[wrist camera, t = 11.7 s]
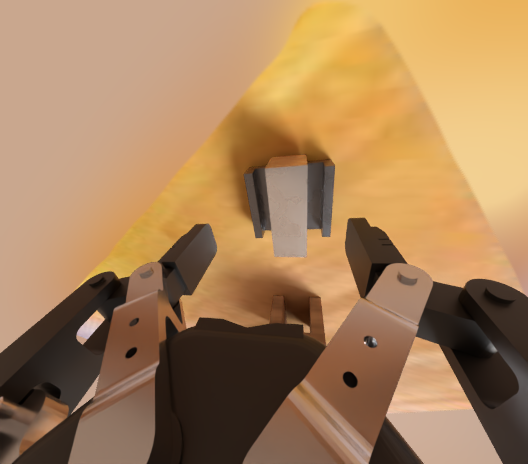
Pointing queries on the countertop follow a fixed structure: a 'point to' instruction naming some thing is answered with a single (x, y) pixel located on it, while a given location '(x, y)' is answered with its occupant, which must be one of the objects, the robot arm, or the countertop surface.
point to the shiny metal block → (288, 204)
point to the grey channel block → (317, 197)
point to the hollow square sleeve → (315, 316)
